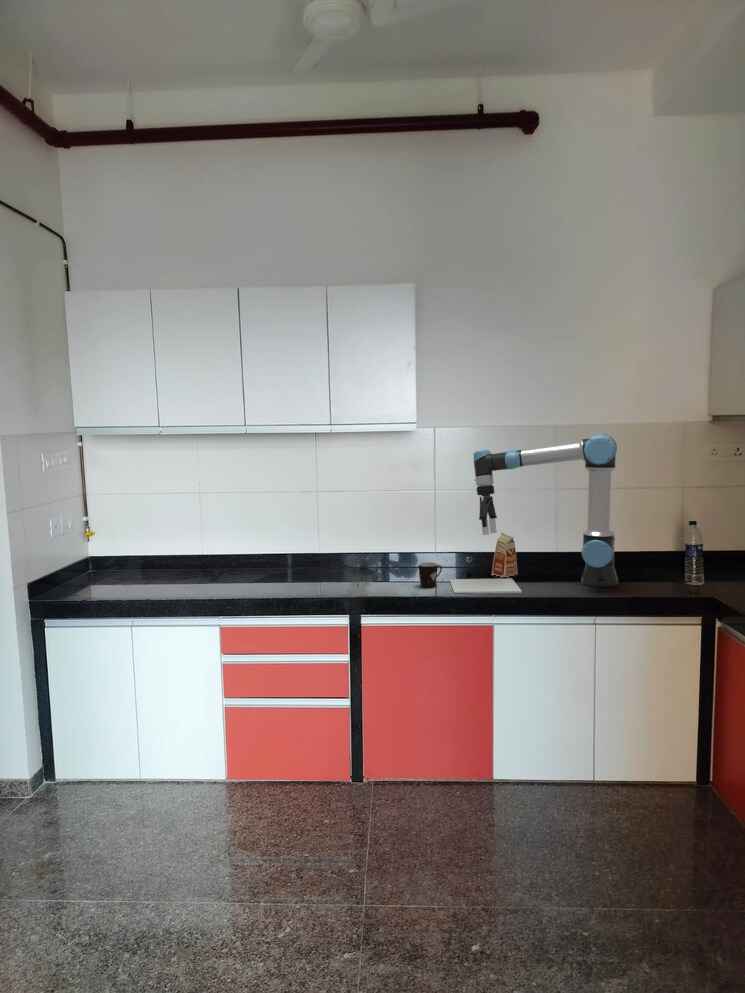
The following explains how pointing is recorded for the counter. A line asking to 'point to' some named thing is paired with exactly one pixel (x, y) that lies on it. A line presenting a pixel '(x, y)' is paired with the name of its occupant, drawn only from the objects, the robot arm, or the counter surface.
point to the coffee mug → (428, 574)
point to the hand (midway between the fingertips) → (489, 534)
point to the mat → (484, 586)
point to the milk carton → (505, 557)
